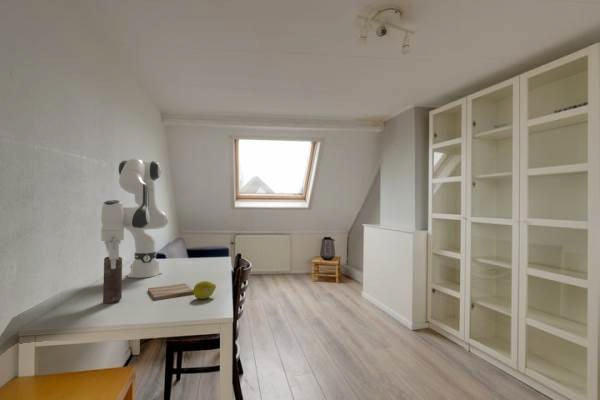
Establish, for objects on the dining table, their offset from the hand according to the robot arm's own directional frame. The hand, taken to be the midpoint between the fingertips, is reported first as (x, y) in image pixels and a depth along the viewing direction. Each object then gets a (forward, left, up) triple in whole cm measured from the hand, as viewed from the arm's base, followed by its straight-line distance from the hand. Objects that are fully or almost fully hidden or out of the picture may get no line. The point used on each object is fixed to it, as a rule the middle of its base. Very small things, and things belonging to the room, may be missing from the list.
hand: (112, 266), depth 148 cm
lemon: (+18, +36, -16) cm, 43 cm away
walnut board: (-1, +25, -16) cm, 29 cm away
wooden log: (0, 0, -16) cm, 16 cm away
